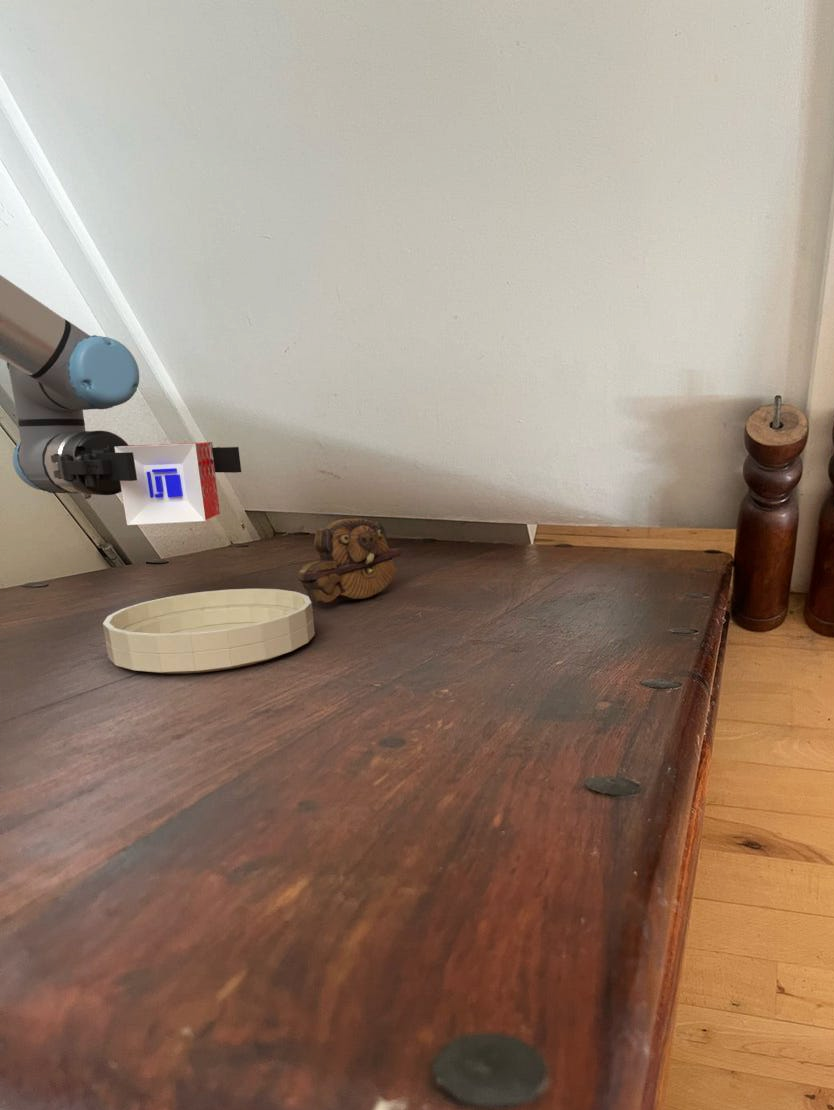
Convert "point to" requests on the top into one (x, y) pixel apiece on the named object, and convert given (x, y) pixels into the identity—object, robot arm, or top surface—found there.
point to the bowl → (208, 630)
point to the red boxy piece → (170, 484)
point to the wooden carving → (349, 562)
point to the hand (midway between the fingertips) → (187, 463)
